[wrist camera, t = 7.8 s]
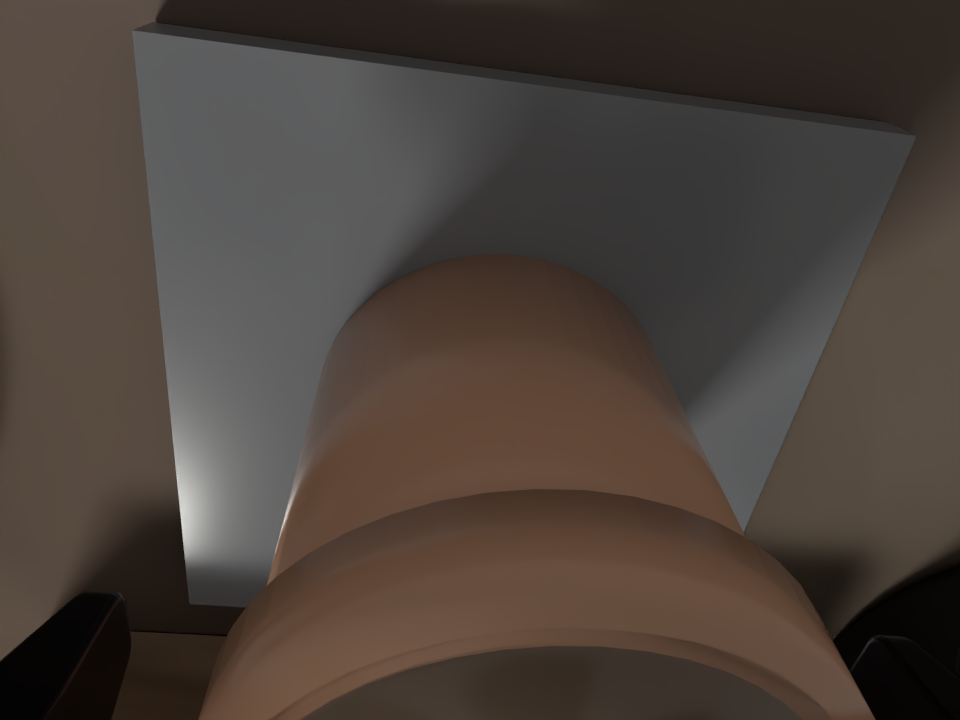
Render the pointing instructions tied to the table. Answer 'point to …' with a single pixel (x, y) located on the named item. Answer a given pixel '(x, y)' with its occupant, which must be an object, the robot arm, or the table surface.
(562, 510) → the terracotta pot
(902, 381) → the table surface
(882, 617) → the mug
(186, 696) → the frame
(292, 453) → the slate tile
